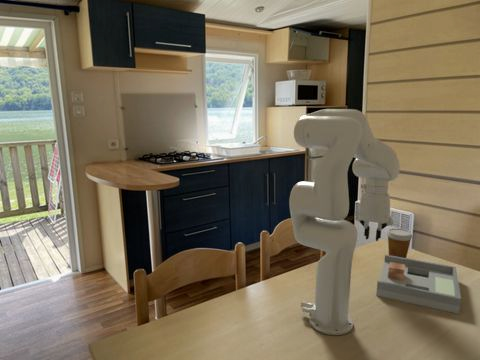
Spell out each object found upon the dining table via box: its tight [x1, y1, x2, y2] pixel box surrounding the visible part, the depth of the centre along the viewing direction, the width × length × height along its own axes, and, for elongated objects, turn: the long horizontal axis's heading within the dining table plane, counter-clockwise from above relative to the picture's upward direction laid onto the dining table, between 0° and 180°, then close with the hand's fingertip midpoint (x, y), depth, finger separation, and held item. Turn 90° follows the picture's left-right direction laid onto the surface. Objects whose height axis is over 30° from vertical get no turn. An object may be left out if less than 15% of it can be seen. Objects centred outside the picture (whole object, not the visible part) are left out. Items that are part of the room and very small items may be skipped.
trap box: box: [375, 254, 462, 315], centre depth 128 cm, size 24×25×5 cm
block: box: [388, 262, 405, 281], centre depth 131 cm, size 5×5×4 cm
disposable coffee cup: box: [386, 227, 413, 258], centre depth 151 cm, size 10×10×12 cm
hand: (372, 238), depth 133 cm, fingers open, 2 cm apart
